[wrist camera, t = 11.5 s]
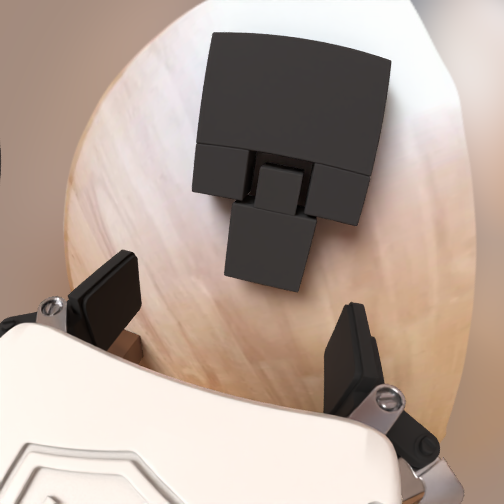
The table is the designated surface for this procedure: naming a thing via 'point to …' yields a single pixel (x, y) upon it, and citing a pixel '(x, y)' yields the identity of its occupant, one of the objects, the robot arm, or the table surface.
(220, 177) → the base pad
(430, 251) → the table surface
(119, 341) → the stand
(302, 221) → the small pad
